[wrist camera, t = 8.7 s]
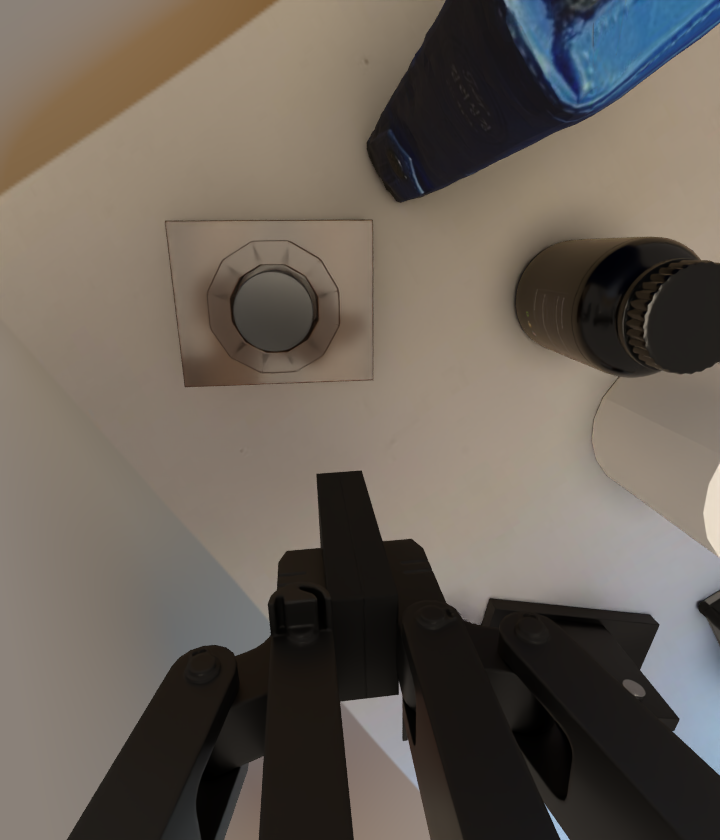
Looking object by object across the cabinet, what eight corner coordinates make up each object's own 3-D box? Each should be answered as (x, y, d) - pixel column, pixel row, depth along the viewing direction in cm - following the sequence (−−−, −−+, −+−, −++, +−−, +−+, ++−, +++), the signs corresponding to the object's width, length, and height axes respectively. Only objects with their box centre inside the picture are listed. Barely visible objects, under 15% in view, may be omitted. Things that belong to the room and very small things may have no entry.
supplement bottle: (595, 219, 32) (760, 202, 20) (626, 319, 34) (790, 353, 23) (495, 271, 32) (602, 283, 21) (532, 367, 34) (647, 425, 23)
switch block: (192, 378, 32) (177, 395, 28) (174, 222, 29) (155, 218, 25) (368, 372, 33) (377, 387, 29) (367, 221, 30) (377, 217, 27)
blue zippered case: (400, 220, 31) (567, 173, 12) (346, 138, 29) (439, -73, 10) (607, 59, 29) (1177, -293, 10) (563, -38, 27) (1146, -669, 9)
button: (240, 346, 28) (236, 353, 27) (233, 270, 27) (229, 271, 25) (313, 344, 29) (314, 350, 27) (311, 269, 27) (311, 270, 26)
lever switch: (469, 661, 42) (518, 779, 32) (489, 598, 40) (547, 703, 31) (624, 673, 44) (712, 786, 35) (650, 614, 42) (749, 717, 33)
